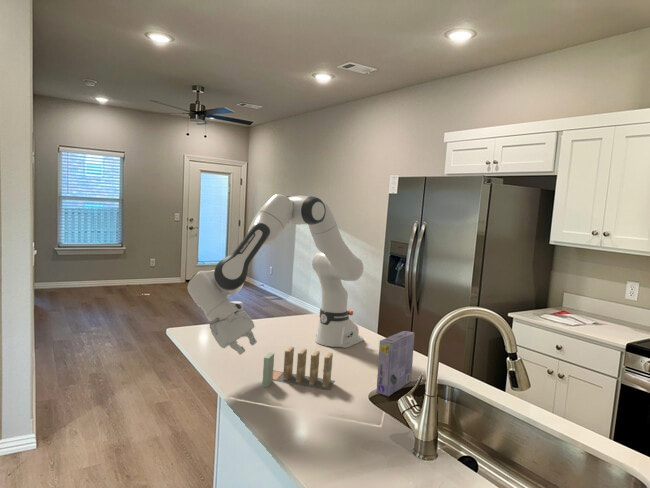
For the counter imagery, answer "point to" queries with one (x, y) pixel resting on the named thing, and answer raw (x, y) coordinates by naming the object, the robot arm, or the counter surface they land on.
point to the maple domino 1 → (288, 363)
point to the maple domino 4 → (327, 370)
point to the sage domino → (268, 369)
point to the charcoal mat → (279, 377)
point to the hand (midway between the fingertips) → (249, 348)
